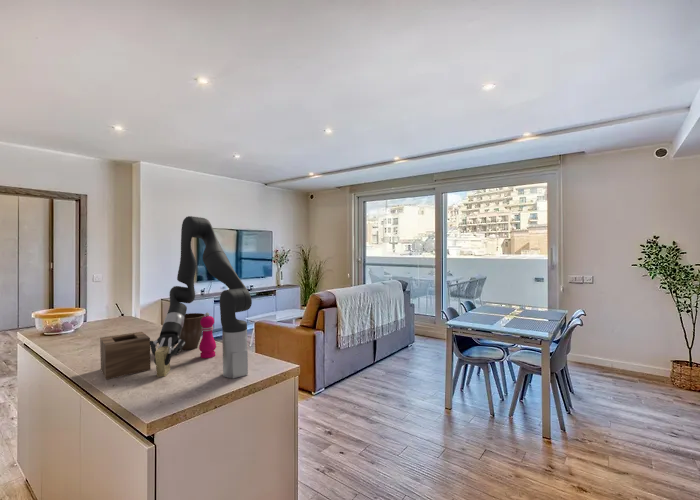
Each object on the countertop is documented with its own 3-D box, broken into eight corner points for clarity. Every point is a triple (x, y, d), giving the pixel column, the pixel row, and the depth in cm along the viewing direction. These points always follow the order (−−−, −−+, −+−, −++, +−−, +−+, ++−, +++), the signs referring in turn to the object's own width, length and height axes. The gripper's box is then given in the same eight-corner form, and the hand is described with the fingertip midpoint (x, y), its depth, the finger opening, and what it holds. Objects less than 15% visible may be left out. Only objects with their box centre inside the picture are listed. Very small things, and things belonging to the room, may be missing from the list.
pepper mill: (210, 359, 154) (209, 314, 154) (195, 358, 156) (195, 313, 156) (219, 354, 161) (218, 311, 161) (205, 353, 163) (204, 310, 163)
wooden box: (150, 369, 142) (150, 338, 142) (105, 379, 132) (105, 345, 132) (142, 360, 153) (141, 331, 153) (100, 369, 143) (100, 337, 143)
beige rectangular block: (165, 376, 134) (163, 351, 133) (156, 376, 134) (154, 352, 132) (170, 370, 139) (168, 346, 138) (162, 370, 139) (160, 346, 137)
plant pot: (174, 345, 176) (173, 314, 176) (206, 342, 182) (205, 312, 182) (170, 354, 162) (169, 320, 162) (204, 350, 168) (204, 317, 168)
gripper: (152, 321, 143) (138, 360, 131) (188, 320, 144) (177, 358, 132) (158, 331, 148) (145, 370, 136) (192, 330, 150) (182, 368, 138)
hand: (161, 364), depth 134 cm, fingers closed on beige rectangular block, 2 cm apart
